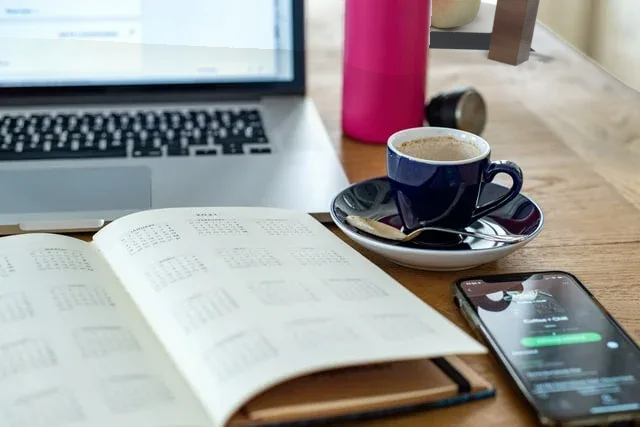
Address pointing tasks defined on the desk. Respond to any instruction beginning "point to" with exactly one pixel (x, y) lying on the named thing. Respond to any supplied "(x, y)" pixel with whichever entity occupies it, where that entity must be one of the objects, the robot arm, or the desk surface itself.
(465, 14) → the apple
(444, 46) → the mat
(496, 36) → the shelf stand
